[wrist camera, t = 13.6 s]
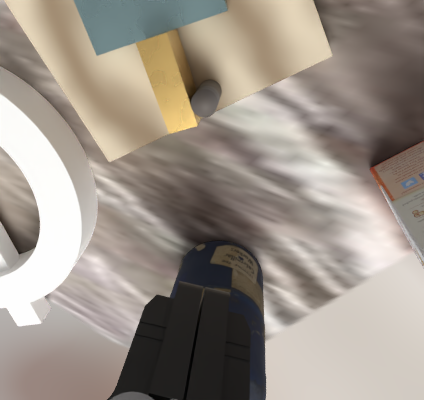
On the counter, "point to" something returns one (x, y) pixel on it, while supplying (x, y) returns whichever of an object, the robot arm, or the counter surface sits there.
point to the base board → (195, 54)
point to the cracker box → (405, 192)
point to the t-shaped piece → (153, 45)
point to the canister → (233, 294)
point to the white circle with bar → (43, 199)
